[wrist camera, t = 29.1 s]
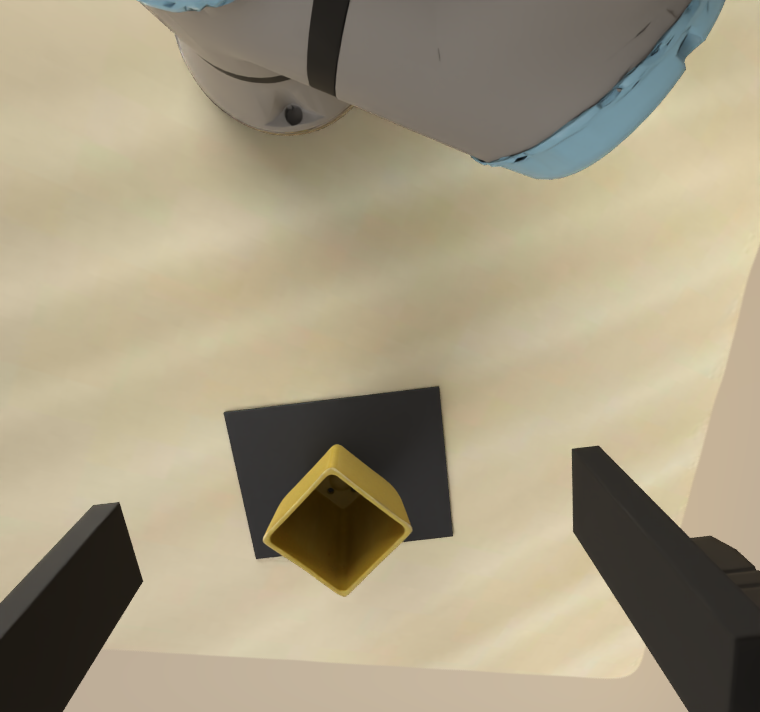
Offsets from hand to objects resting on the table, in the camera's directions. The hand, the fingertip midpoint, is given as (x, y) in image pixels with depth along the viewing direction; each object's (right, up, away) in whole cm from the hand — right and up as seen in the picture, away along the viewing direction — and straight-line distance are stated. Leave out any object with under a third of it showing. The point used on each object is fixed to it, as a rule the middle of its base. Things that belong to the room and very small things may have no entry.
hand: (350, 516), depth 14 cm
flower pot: (-3, -7, +34) cm, 35 cm away
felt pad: (-3, -7, +34) cm, 35 cm away
